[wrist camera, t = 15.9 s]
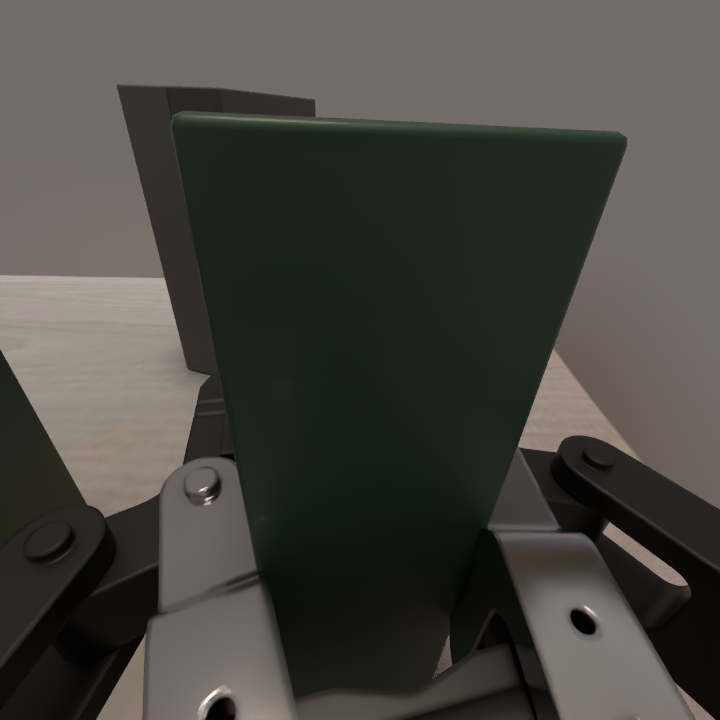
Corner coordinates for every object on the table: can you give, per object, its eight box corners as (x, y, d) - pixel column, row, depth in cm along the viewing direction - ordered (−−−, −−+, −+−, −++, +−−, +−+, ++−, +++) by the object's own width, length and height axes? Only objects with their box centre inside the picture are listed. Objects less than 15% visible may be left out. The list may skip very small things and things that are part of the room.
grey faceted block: (319, 322, 33) (315, 99, 24) (258, 387, 25) (218, 87, 16) (262, 311, 34) (239, 96, 25) (187, 369, 26) (115, 84, 17)
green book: (349, 475, 18) (363, 121, 10) (414, 733, 10) (637, 132, 3) (280, 485, 17) (240, 114, 9) (295, 769, 10) (162, 110, 2)
